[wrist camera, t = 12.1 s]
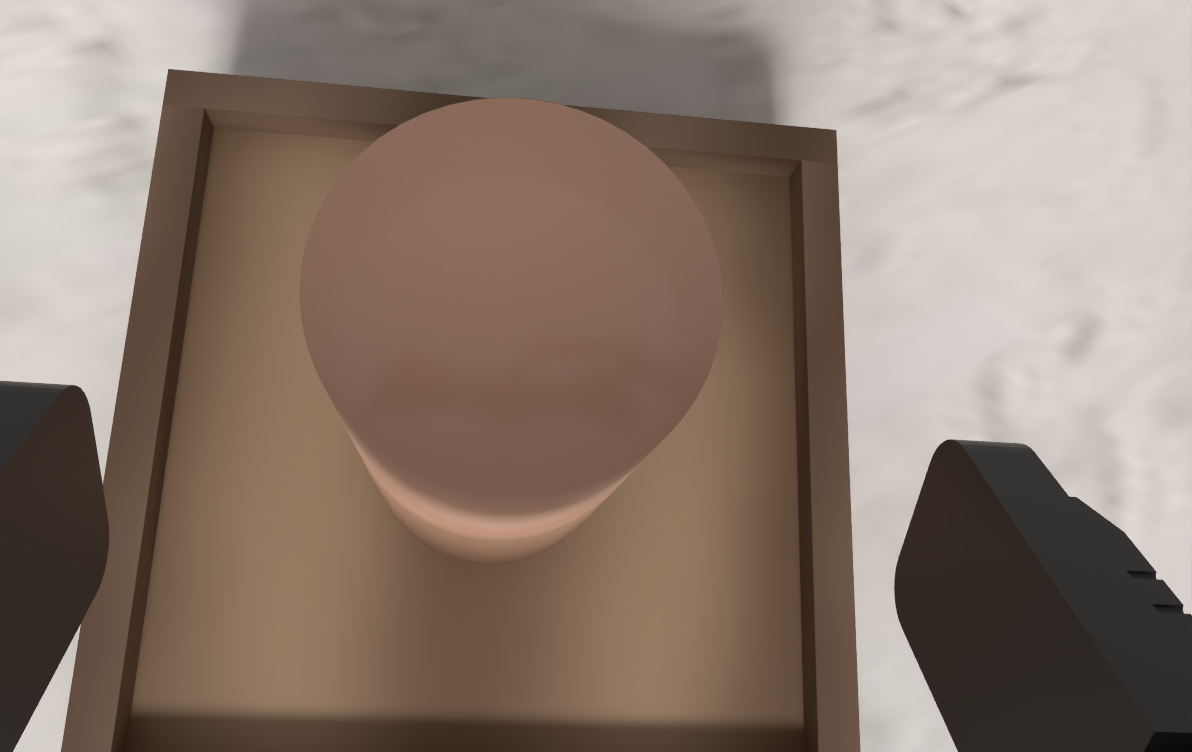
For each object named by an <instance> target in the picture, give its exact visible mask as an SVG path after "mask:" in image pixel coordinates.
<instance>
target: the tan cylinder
mask: <svg viewBox="0 0 1192 752" xmlns="http://www.w3.org/2000/svg"><path fill="white" fill-rule="evenodd" d="M299 300H300V311H301V321H302V327H303V331H304V335H305V339H306V343H307V347H308V351H309V354H310V356H311V359H312V361H313V364H314V366H315V369H316V371H317V374H318V376H319V378H320V380H321V382H322V384H323V386H324V388H325V390H326V392H327V394H328V395H329V397H330V399H331V401H332V403H333V405H334V407H335V409H336V411H337V413H338V415H339V416H340V418H341V420H342V422H343V424H344V426H345V428H346V430H347V432H348V434H349V436H350V437H351V439H352V441H353V443H354V445H355V447H356V449H357V451H358V453H359V455H360V457H361V458H362V460H363V462H364V464H365V466H366V468H367V470H368V472H369V474H370V476H371V477H372V479H373V481H374V483H375V485H376V487H377V489H378V491H379V493H380V495H381V497H382V498H383V500H384V502H385V504H386V505H387V507H388V509H389V510H390V512H391V513H392V514H393V516H394V517H395V518H396V520H397V521H398V522H399V523H400V524H401V525H402V526H403V527H404V528H405V529H406V530H407V531H408V532H409V533H410V534H411V535H412V536H413V537H415V538H416V539H417V540H419V541H420V542H421V543H423V544H424V545H426V546H428V547H430V548H431V549H433V550H435V551H437V552H439V553H441V554H444V555H446V556H449V557H451V558H454V559H458V560H462V561H466V562H472V563H481V564H503V563H509V562H516V561H520V560H523V559H527V558H530V557H534V556H536V555H538V554H540V553H543V552H545V551H547V550H549V549H551V548H552V547H554V546H556V545H557V544H559V543H560V542H562V541H563V540H565V539H566V538H567V537H568V536H569V535H571V534H572V533H573V532H574V531H575V530H576V529H577V528H578V527H579V526H580V525H581V524H582V523H583V522H584V521H585V520H586V519H587V518H588V517H589V516H590V515H591V514H592V513H593V512H594V511H595V510H596V509H597V508H598V507H599V506H600V505H601V504H602V503H603V502H604V500H605V499H606V498H607V497H608V496H609V495H610V494H611V493H612V492H613V491H614V490H615V489H616V488H617V487H618V486H619V485H620V484H621V483H622V482H623V481H624V480H625V479H626V478H627V477H628V476H629V475H630V474H631V473H632V472H633V471H634V470H635V469H636V468H637V467H638V465H639V464H640V463H641V462H642V461H643V460H644V459H645V458H646V457H647V456H648V455H649V454H650V453H651V452H652V451H653V450H654V449H655V448H656V447H657V446H658V445H659V444H660V443H661V442H662V441H663V440H664V439H665V438H666V436H667V435H668V434H669V433H670V432H671V431H672V430H673V429H674V428H675V427H676V426H677V425H678V424H679V423H680V421H681V420H682V419H683V417H684V416H685V414H686V413H687V412H688V410H689V409H690V407H691V406H692V405H693V403H694V402H695V400H696V398H697V396H698V395H699V393H700V391H701V389H702V387H703V385H704V383H705V381H706V379H707V377H708V374H709V372H710V369H711V366H712V363H713V360H714V358H715V355H716V351H717V346H718V341H719V337H720V332H721V325H722V310H723V294H722V280H721V273H720V268H719V263H718V258H717V253H716V250H715V247H714V244H713V241H712V238H711V235H710V233H709V230H708V227H707V225H706V223H705V221H704V219H703V217H702V215H701V213H700V211H699V209H698V207H697V205H696V204H695V202H694V201H693V199H692V198H691V196H690V195H689V193H688V192H687V190H686V189H685V187H684V186H683V184H682V183H681V182H680V180H679V179H678V178H677V177H676V176H675V175H674V174H673V172H672V171H671V170H670V169H669V168H668V167H667V165H666V164H665V163H664V162H662V161H661V160H660V159H659V158H658V157H657V156H656V155H655V154H654V153H653V152H652V151H650V150H649V149H648V148H647V147H646V146H644V145H643V144H642V143H640V142H639V141H637V140H636V139H635V138H633V137H632V136H630V135H629V134H628V133H626V132H625V131H623V130H621V129H619V128H617V127H616V126H614V125H612V124H610V123H608V122H606V121H605V120H603V119H600V118H598V117H595V116H593V115H590V114H588V113H586V112H583V111H581V110H578V109H574V108H571V107H567V106H564V105H560V104H556V103H552V102H546V101H539V100H533V99H524V98H490V99H478V100H471V101H466V102H461V103H456V104H451V105H447V106H444V107H441V108H438V109H435V110H432V111H429V112H426V113H424V114H421V115H419V116H417V117H415V118H413V119H411V120H409V121H407V122H405V123H402V124H400V125H399V126H397V127H396V128H394V129H393V130H391V131H389V132H388V133H386V134H385V135H383V136H382V137H380V138H378V139H377V140H376V141H375V142H374V143H372V144H371V145H370V146H369V147H368V148H367V149H365V150H364V151H363V152H362V153H361V154H359V155H358V156H357V157H356V158H355V160H354V161H353V162H352V163H351V164H350V165H349V166H348V167H347V168H346V169H345V170H344V172H343V173H342V174H341V175H340V176H339V178H338V179H337V181H336V182H335V184H334V185H333V186H332V188H331V189H330V191H329V192H328V194H327V195H326V197H325V199H324V201H323V203H322V205H321V207H320V209H319V210H318V212H317V214H316V216H315V218H314V221H313V224H312V227H311V230H310V232H309V235H308V238H307V241H306V244H305V249H304V254H303V260H302V265H301V270H300V291H299Z"/></svg>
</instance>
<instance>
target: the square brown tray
mask: <svg viewBox="0 0 1192 752" xmlns="http://www.w3.org/2000/svg"><path fill="white" fill-rule="evenodd" d="M478 99H490V98H479V97H468V96H457V95H446V94H435V93H424V92H413V91H403V90H392V89H381V88H370V87H359V86H348V85H337V84H326V83H315V82H304V81H293V80H282V79H271V78H260V77H249V76H238V75H227V74H217V73H206V72H195V71H184V70H173V69H168V75H167V81H166V88H165V94H164V100H163V107H162V113H161V119H160V126H159V132H158V138H157V145H156V151H155V157H154V164H153V170H152V177H151V183H150V189H149V196H148V202H147V208H146V215H145V221H144V227H143V234H142V240H141V246H140V253H139V259H138V265H137V272H136V278H135V285H134V291H133V297H132V304H131V310H130V316H129V323H128V329H127V335H126V342H125V348H124V354H123V361H122V367H121V373H120V380H119V386H118V393H117V399H116V405H115V412H114V418H113V424H112V431H111V437H110V443H109V450H108V456H107V462H106V469H105V475H104V481H103V491H104V497H105V503H106V509H107V515H108V522H109V549H108V557H107V563H106V568H105V572H104V575H103V579H102V582H101V585H100V587H99V589H98V592H97V594H96V596H95V598H94V600H93V601H92V603H91V605H90V607H89V609H88V611H87V613H86V615H85V616H84V618H83V620H82V622H81V628H80V634H79V640H78V647H77V653H76V659H75V666H74V672H73V678H72V685H71V691H70V697H69V704H68V710H67V717H66V723H65V729H64V736H63V742H62V748H61V752H860V732H859V706H858V680H857V654H856V628H855V603H854V577H853V551H852V525H851V499H850V474H849V448H848V422H847V396H846V370H845V344H844V319H843V293H842V267H841V241H840V215H839V189H838V164H837V138H836V130H829V129H818V128H807V127H796V126H785V125H775V124H764V123H753V122H742V121H731V120H720V119H709V118H698V117H687V116H676V115H665V114H654V113H643V112H632V111H621V110H610V109H599V108H589V107H578V106H567V105H564V106H567V107H571V108H574V109H578V110H581V111H583V112H586V113H588V114H590V115H593V116H595V117H598V118H600V119H603V120H605V121H606V122H608V123H610V124H612V125H614V126H616V127H617V128H619V129H621V130H623V131H625V132H626V133H628V134H629V135H630V136H632V137H633V138H635V139H636V140H637V141H639V142H640V143H642V144H643V145H644V146H646V147H647V148H648V149H649V150H650V151H652V152H653V153H654V154H655V155H656V156H657V157H658V158H659V159H660V160H661V161H662V162H664V163H665V164H666V165H667V167H668V168H669V169H670V170H671V171H672V172H673V174H674V175H675V176H676V177H677V178H678V179H679V180H680V182H681V183H682V184H683V186H684V187H685V189H686V190H687V192H688V193H689V195H690V196H691V198H692V199H693V201H694V202H695V204H696V205H697V207H698V209H699V211H700V213H701V215H702V217H703V219H704V221H705V223H706V225H707V227H708V230H709V233H710V235H711V238H712V241H713V244H714V247H715V250H716V253H717V258H718V263H719V268H720V273H721V280H722V294H723V310H722V325H721V332H720V337H719V341H718V346H717V351H716V355H715V358H714V360H713V363H712V366H711V369H710V372H709V374H708V377H707V379H706V381H705V383H704V385H703V387H702V389H701V391H700V393H699V395H698V396H697V398H696V400H695V402H694V403H693V405H692V406H691V407H690V409H689V410H688V412H687V413H686V414H685V416H684V417H683V419H682V420H681V421H680V423H679V424H678V425H677V426H676V427H675V428H674V429H673V430H672V431H671V432H670V433H669V434H668V435H667V436H666V438H665V439H664V440H663V441H662V442H661V443H660V444H659V445H658V446H657V447H656V448H655V449H654V450H653V451H652V452H651V453H650V454H649V455H648V456H647V457H646V458H645V459H644V460H643V461H642V462H641V463H640V464H639V465H638V467H637V468H636V469H635V470H634V471H633V472H632V473H631V474H630V475H629V476H628V477H627V478H626V479H625V480H624V481H623V482H622V483H621V484H620V485H619V486H618V487H617V488H616V489H615V490H614V491H613V492H612V493H611V494H610V495H609V496H608V497H607V498H606V499H605V500H604V502H603V503H602V504H601V505H600V506H599V507H598V508H597V509H596V510H595V511H594V512H593V513H592V514H591V515H590V516H589V517H588V518H587V519H586V520H585V521H584V522H583V523H582V524H581V525H580V526H579V527H578V528H577V529H576V530H575V531H574V532H573V533H572V534H571V535H569V536H568V537H567V538H566V539H565V540H563V541H562V542H560V543H559V544H557V545H556V546H554V547H552V548H551V549H549V550H547V551H545V552H543V553H540V554H538V555H536V556H534V557H530V558H527V559H523V560H520V561H516V562H509V563H503V564H481V563H472V562H466V561H462V560H458V559H454V558H451V557H449V556H446V555H444V554H441V553H439V552H437V551H435V550H433V549H431V548H430V547H428V546H426V545H424V544H423V543H421V542H420V541H419V540H417V539H416V538H415V537H413V536H412V535H411V534H410V533H409V532H408V531H407V530H406V529H405V528H404V527H403V526H402V525H401V524H400V523H399V522H398V521H397V520H396V518H395V517H394V516H393V514H392V513H391V512H390V510H389V509H388V507H387V505H386V504H385V502H384V500H383V498H382V497H381V495H380V493H379V491H378V489H377V487H376V485H375V483H374V481H373V479H372V477H371V476H370V474H369V472H368V470H367V468H366V466H365V464H364V462H363V460H362V458H361V457H360V455H359V453H358V451H357V449H356V447H355V445H354V443H353V441H352V439H351V437H350V436H349V434H348V432H347V430H346V428H345V426H344V424H343V422H342V420H341V418H340V416H339V415H338V413H337V411H336V409H335V407H334V405H333V403H332V401H331V399H330V397H329V395H328V394H327V392H326V390H325V388H324V386H323V384H322V382H321V380H320V378H319V376H318V374H317V371H316V369H315V366H314V364H313V361H312V359H311V356H310V354H309V351H308V347H307V343H306V339H305V335H304V331H303V327H302V321H301V311H300V300H299V291H300V270H301V265H302V260H303V254H304V249H305V244H306V241H307V238H308V235H309V232H310V230H311V227H312V224H313V221H314V218H315V216H316V214H317V212H318V210H319V209H320V207H321V205H322V203H323V201H324V199H325V197H326V195H327V194H328V192H329V191H330V189H331V188H332V186H333V185H334V184H335V182H336V181H337V179H338V178H339V176H340V175H341V174H342V173H343V172H344V170H345V169H346V168H347V167H348V166H349V165H350V164H351V163H352V162H353V161H354V160H355V158H356V157H357V156H358V155H359V154H361V153H362V152H363V151H364V150H365V149H367V148H368V147H369V146H370V145H371V144H372V143H374V142H375V141H376V140H377V139H378V138H380V137H382V136H383V135H385V134H386V133H388V132H389V131H391V130H393V129H394V128H396V127H397V126H399V125H400V124H402V123H405V122H407V121H409V120H411V119H413V118H415V117H417V116H419V115H421V114H424V113H426V112H429V111H432V110H435V109H438V108H441V107H444V106H447V105H451V104H456V103H461V102H466V101H471V100H478Z"/></svg>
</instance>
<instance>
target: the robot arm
mask: <svg viewBox="0 0 1192 752" xmlns="http://www.w3.org/2000/svg"><path fill="white" fill-rule="evenodd" d="M108 549H109V522H108V515H107V509H106V503H105V497H104V491H103V484H102V478H101V472H100V466H99V460H98V454H97V447H96V441H95V435H94V429H93V423H92V417H91V411H90V406H89V403H88V400H87V397H86V395H85V393H84V392H83V391H82V389H81V388H79V387H78V386H74V385H60V384H43V383H26V382H10V381H0V752H13V750H14V748H15V747H16V745H17V743H18V741H19V739H20V737H21V735H22V733H23V732H24V730H25V728H26V726H27V724H28V722H29V720H30V718H31V716H32V715H33V713H34V711H35V709H36V707H37V705H38V703H39V701H40V699H41V698H42V696H43V694H44V692H45V690H46V688H47V686H48V684H49V682H50V681H51V679H52V677H53V675H54V673H55V671H56V669H57V667H58V666H59V664H60V662H61V660H62V658H63V656H64V654H65V652H66V650H67V649H68V647H69V645H70V643H71V641H72V639H73V637H74V635H75V633H76V632H77V630H78V628H79V626H80V624H81V622H82V620H83V618H84V616H85V615H86V613H87V611H88V609H89V607H90V605H91V603H92V601H93V600H94V598H95V596H96V594H97V592H98V589H99V587H100V585H101V582H102V579H103V575H104V572H105V568H106V563H107V557H108ZM894 590H895V603H896V610H897V614H898V618H899V621H900V624H901V627H902V629H903V631H904V633H905V636H906V638H907V640H908V642H909V644H910V647H911V649H912V651H913V653H914V656H915V658H916V660H917V662H918V664H919V667H920V669H921V671H922V673H923V675H924V678H925V680H926V682H927V684H928V686H929V689H930V691H931V693H932V695H933V697H934V700H935V702H936V704H937V706H938V708H939V711H940V713H941V715H942V717H943V719H944V722H945V724H946V726H947V728H948V730H949V733H950V735H951V737H952V739H953V742H954V744H955V746H956V748H957V750H958V752H1192V615H1191V614H1184V613H1183V604H1182V603H1181V602H1180V601H1179V599H1178V598H1177V597H1176V596H1175V594H1174V593H1173V592H1172V591H1171V589H1170V588H1169V587H1168V586H1167V584H1166V583H1165V582H1164V581H1163V580H1157V579H1156V571H1155V570H1154V568H1153V567H1152V566H1151V565H1150V564H1149V562H1148V561H1147V560H1146V559H1145V557H1144V556H1143V555H1142V554H1141V552H1140V551H1139V550H1138V549H1137V548H1136V546H1135V545H1134V544H1133V543H1132V541H1131V540H1130V539H1129V538H1128V536H1127V535H1126V534H1125V533H1124V532H1123V531H1122V530H1120V529H1119V528H1118V527H1116V526H1115V525H1114V524H1112V523H1111V522H1110V521H1108V520H1107V519H1105V518H1104V517H1103V516H1101V515H1100V514H1099V513H1097V512H1096V511H1095V510H1093V509H1092V508H1090V507H1089V506H1088V505H1086V504H1085V503H1084V502H1082V501H1081V500H1080V499H1078V498H1077V497H1069V496H1068V495H1067V493H1066V492H1065V491H1064V490H1063V488H1062V487H1061V486H1060V484H1059V483H1058V482H1057V481H1056V479H1055V478H1054V477H1053V475H1052V474H1051V473H1050V472H1049V470H1048V469H1047V468H1046V466H1045V465H1044V464H1043V462H1042V461H1041V460H1040V459H1039V457H1038V456H1037V455H1036V453H1035V452H1034V451H1033V450H1032V449H1031V448H1030V447H1028V446H1027V445H1024V444H1018V443H1002V442H985V441H968V440H946V441H944V442H943V443H941V444H940V445H939V447H938V448H937V449H936V451H935V453H934V454H933V457H932V459H931V462H930V465H929V468H928V471H927V474H926V477H925V480H924V483H923V486H922V489H921V492H920V495H919V498H918V501H917V504H916V507H915V510H914V513H913V516H912V519H911V522H910V525H909V528H908V531H907V534H906V537H905V540H904V543H903V546H902V549H901V552H900V555H899V558H898V562H897V566H896V572H895V586H894Z"/></svg>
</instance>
